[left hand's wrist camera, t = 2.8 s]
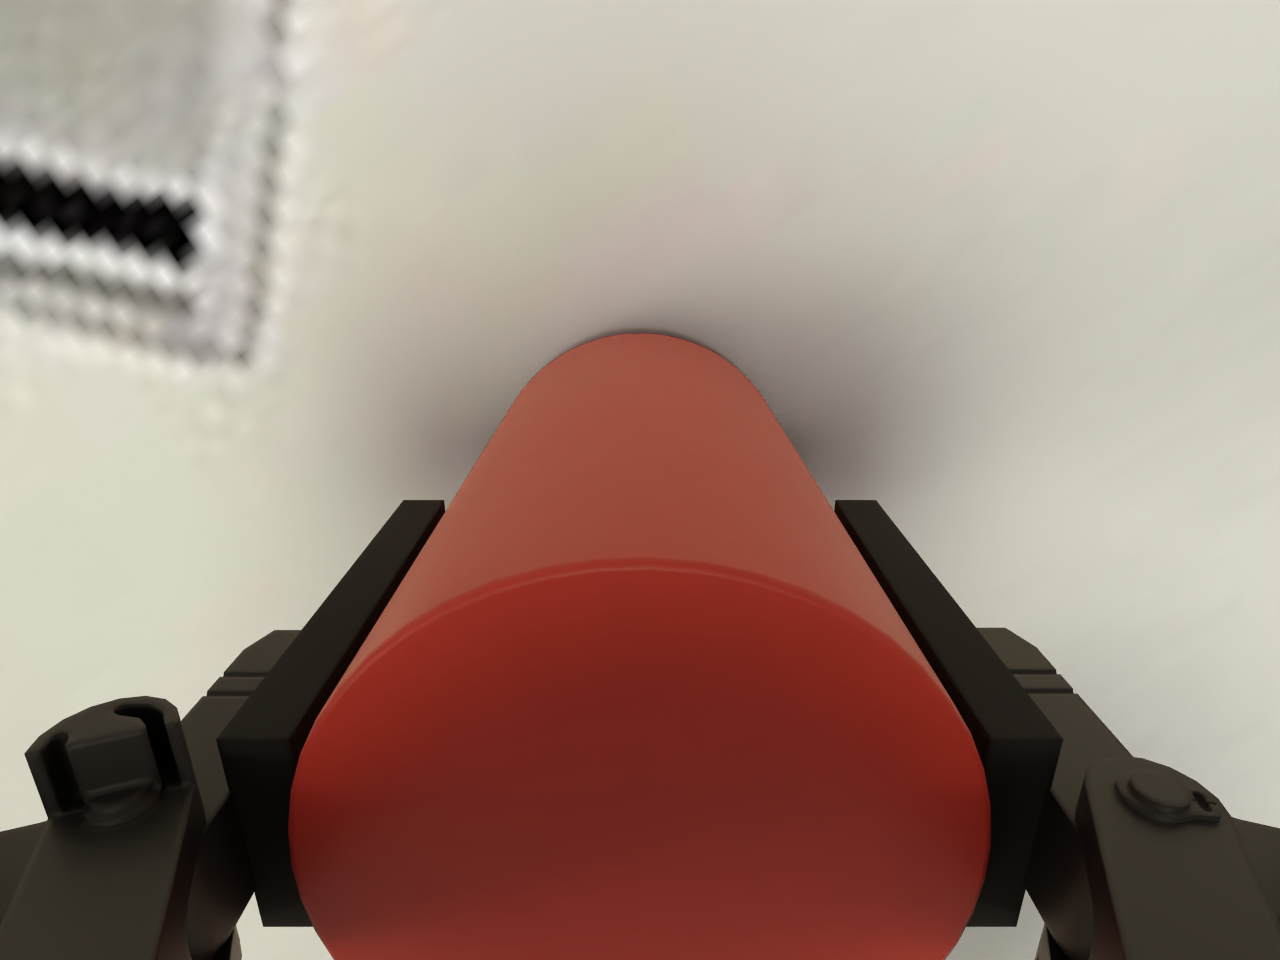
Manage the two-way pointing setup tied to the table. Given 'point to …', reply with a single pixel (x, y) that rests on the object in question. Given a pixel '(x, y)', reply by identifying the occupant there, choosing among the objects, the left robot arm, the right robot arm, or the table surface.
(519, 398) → the canister
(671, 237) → the table surface
